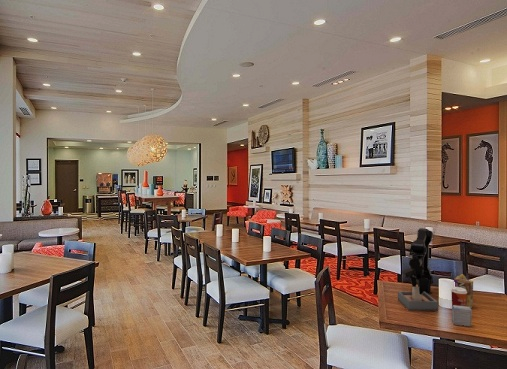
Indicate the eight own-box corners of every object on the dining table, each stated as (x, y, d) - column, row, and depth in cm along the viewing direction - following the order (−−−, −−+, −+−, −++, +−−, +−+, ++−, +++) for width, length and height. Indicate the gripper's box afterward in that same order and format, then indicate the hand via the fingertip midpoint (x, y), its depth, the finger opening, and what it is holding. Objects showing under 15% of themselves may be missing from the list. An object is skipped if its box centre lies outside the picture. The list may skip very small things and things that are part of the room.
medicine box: (469, 323, 177) (469, 306, 176) (471, 327, 173) (471, 310, 172) (451, 321, 179) (452, 304, 179) (453, 324, 175) (453, 308, 175)
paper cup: (461, 318, 183) (461, 292, 182) (447, 313, 189) (447, 287, 189) (469, 315, 186) (470, 289, 186) (455, 310, 193) (456, 285, 192)
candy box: (473, 307, 197) (473, 280, 197) (470, 309, 195) (470, 282, 194) (456, 302, 204) (456, 277, 204) (453, 304, 202) (453, 278, 201)
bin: (424, 299, 208) (425, 291, 208) (437, 310, 192) (438, 302, 192) (397, 299, 209) (397, 291, 209) (408, 310, 193) (408, 301, 193)
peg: (418, 301, 202) (419, 286, 202) (421, 304, 198) (422, 289, 198) (411, 301, 203) (412, 286, 202) (414, 304, 199) (415, 289, 198)
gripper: (397, 260, 209) (397, 285, 210) (410, 269, 190) (409, 297, 191) (416, 260, 209) (415, 286, 209) (430, 269, 190) (430, 297, 191)
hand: (417, 291), depth 200 cm, fingers open, 9 cm apart
